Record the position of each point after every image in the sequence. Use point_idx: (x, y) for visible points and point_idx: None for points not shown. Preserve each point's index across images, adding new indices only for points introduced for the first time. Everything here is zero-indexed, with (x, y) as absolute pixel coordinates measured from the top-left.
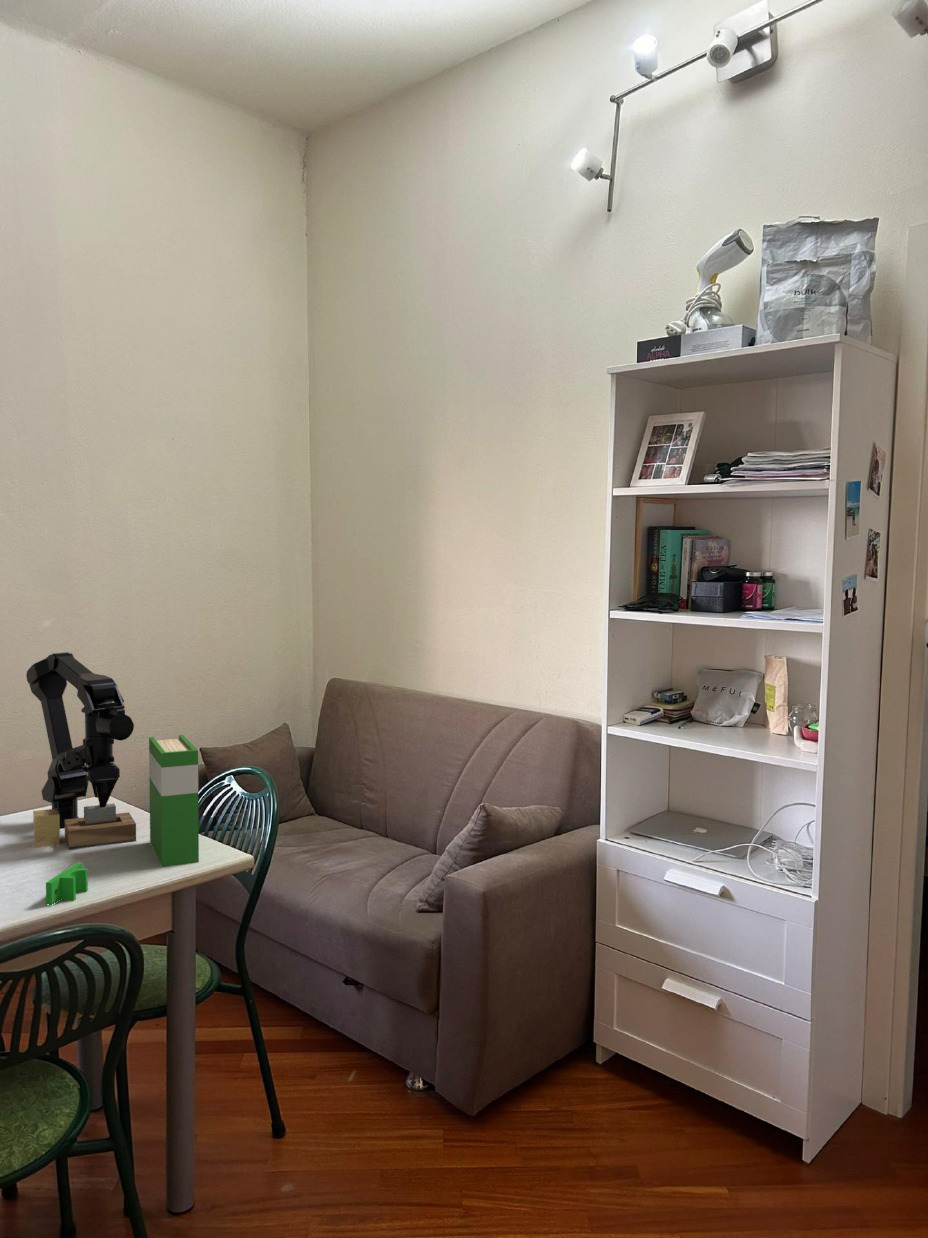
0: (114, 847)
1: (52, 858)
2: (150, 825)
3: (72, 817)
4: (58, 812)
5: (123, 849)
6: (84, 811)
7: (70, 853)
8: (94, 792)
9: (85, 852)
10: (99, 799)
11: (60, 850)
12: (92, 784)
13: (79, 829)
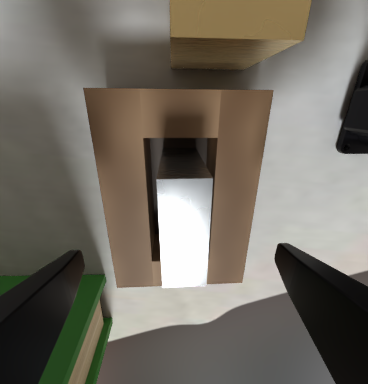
0: (92, 208)
1: (23, 24)
2: (80, 314)
3: (361, 131)
4: (209, 35)
5: (69, 224)
6: (185, 173)
7: (67, 92)
8: (293, 259)
9: (67, 136)
10: (25, 283)
11: (109, 63)
12: (337, 291)
13: (103, 132)
